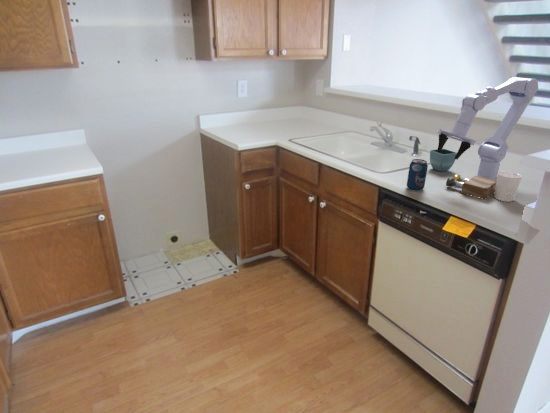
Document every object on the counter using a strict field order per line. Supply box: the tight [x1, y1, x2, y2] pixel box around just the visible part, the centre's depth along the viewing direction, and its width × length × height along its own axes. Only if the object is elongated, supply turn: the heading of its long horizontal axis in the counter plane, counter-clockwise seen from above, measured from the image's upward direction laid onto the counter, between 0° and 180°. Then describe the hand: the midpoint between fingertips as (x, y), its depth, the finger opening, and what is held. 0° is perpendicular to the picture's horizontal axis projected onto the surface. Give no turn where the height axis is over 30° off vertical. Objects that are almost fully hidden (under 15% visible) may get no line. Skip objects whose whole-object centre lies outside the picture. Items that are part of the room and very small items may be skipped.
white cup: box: [493, 170, 523, 203], centre depth 147 cm, size 8×8×10 cm
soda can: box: [406, 158, 429, 192], centre depth 156 cm, size 7×7×12 cm
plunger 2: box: [452, 174, 470, 183], centre depth 161 cm, size 4×10×4 cm, turn 44°
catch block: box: [460, 175, 497, 200], centre depth 154 cm, size 13×9×4 cm
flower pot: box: [429, 148, 457, 172], centre depth 181 cm, size 9×9×9 cm
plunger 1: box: [445, 177, 463, 189], centre depth 157 cm, size 4×10×4 cm, turn 44°
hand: (446, 155), depth 157 cm, fingers open, 7 cm apart
